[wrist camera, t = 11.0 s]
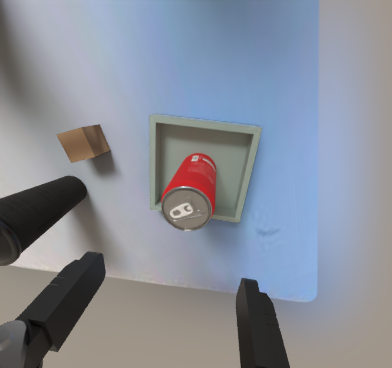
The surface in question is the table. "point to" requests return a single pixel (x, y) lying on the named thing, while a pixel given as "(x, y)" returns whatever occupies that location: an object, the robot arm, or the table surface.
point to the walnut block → (84, 143)
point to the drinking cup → (35, 214)
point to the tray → (209, 145)
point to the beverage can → (191, 194)
